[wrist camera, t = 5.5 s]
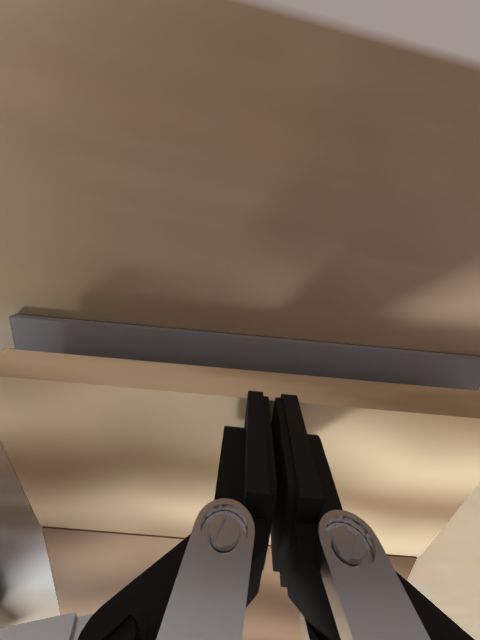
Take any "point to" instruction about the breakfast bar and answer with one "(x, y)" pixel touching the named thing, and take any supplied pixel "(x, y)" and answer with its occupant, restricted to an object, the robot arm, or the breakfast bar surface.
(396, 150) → the breakfast bar surface
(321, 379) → the ash plank
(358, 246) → the breakfast bar surface
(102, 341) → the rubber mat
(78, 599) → the walnut board
